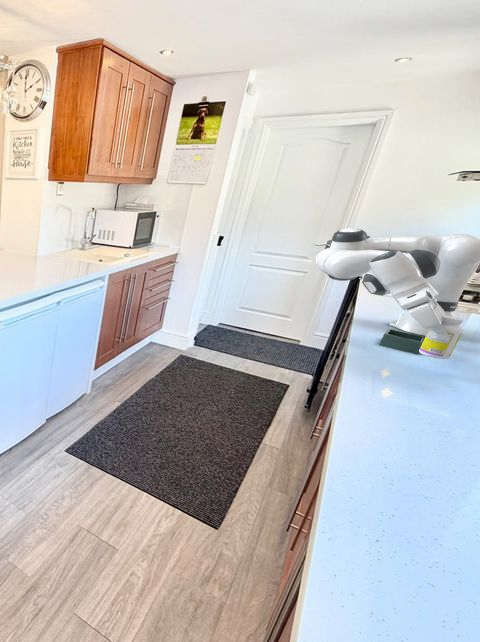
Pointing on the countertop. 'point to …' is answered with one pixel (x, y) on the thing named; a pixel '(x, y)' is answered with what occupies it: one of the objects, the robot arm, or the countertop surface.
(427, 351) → the supplement bottle
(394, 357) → the countertop surface
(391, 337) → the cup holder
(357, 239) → the robot arm
